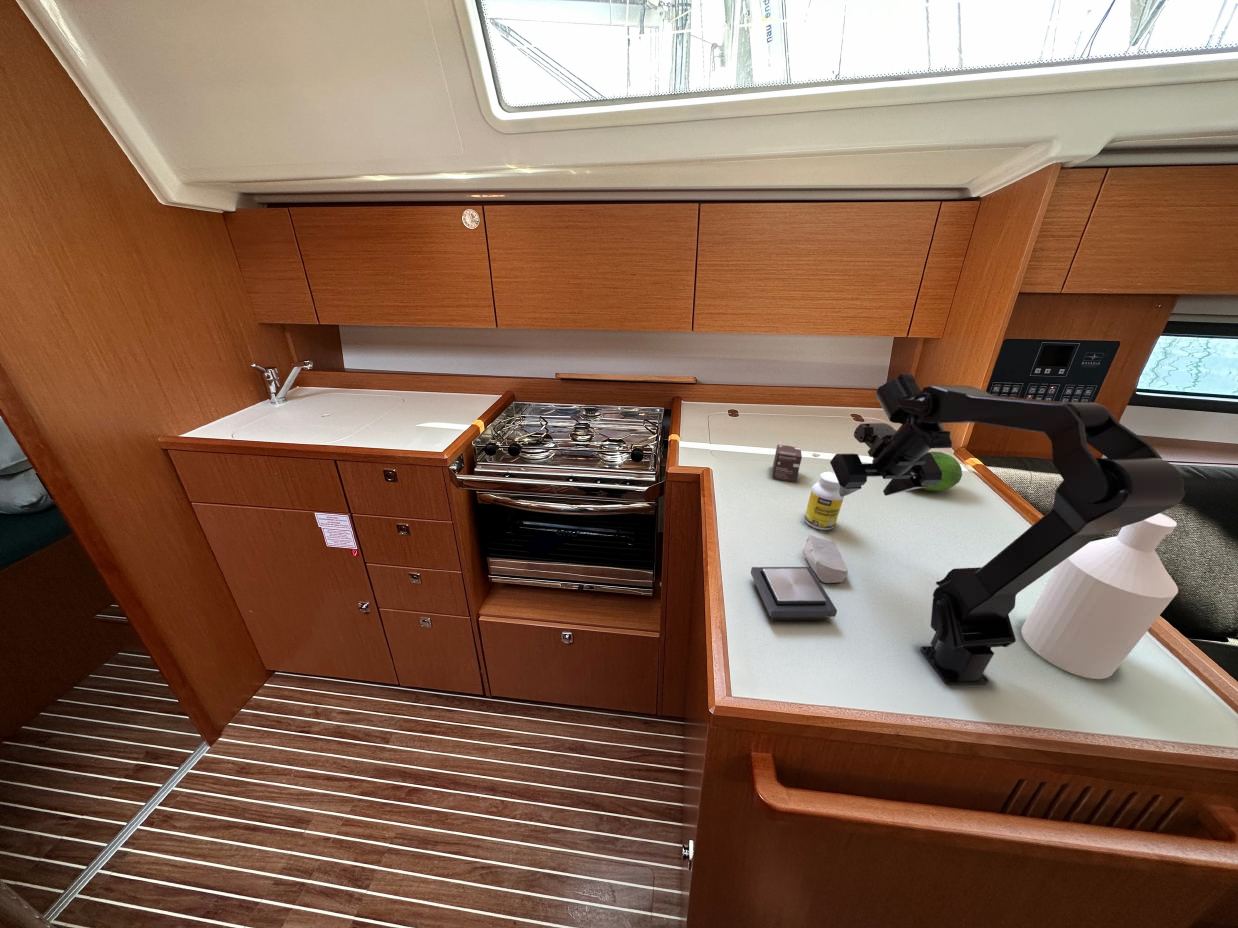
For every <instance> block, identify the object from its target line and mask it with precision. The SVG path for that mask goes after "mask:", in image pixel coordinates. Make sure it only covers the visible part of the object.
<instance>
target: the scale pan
mask: <svg viewBox="0 0 1238 928" xmlns="http://www.w3.org/2000/svg"><path fill="white" fill-rule="evenodd" d="M762 576H763V578H764V580H765V582H766V585H767V587H768V589H769V591H770V593H771V595H772V597H773V599H774V601H775V603H776V606H818V605H825V602H826V600H825V598H824V596H823V595H822V593H821V591H820V590H819V588H818V587H817V585H816V583H815V582H814V580H813V578H812V577H811V575H810V573H809V572H808V570H807V569H763V571H762Z"/></svg>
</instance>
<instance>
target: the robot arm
mask: <svg viewBox="0 0 1238 928" xmlns="http://www.w3.org/2000/svg"><path fill="white" fill-rule="evenodd" d="M875 397H876V399H877V401H878V403H879V404H880V406H881V408H882V409H883V412H884V413H885V415H886V417H887V419H888V421H889V422H891V423H893V424H901V425H900V426H899V427H898V428H897V430H896V429H895V428H893V427H892V426H891V425H890V424H888V423H884V422H868V423H866V422H865V423H864V422H863V423H860V424H859V425H858V426H857V427H856V428H855V430H854V432H853V438H854V439H855V440H856V441H857V442H858V443H860V444H865V446H867V447H868V450H867V454H868V456H869V458H872V461H871V463H863V462H862V460H861V458H860V456H859V453H854V452H853V453H852V452H851V453H835V455H834V456H833V458H831V460H830V461H829V463H830V466H831V468H832V471H833V473H835V475H836V478H837V480H838V482H839V485H840V489H839V494H840V496H841V497H846V496H848V495H850V494H853V493H855V492H858V491H859V490H862V486H865V484H866V483H867V481H868V478H882V479H883V480H890V481H889V482H888V483H887V484H886V486H885V487H884V489H883V490H882V493H883V495H884V496H891V495H895V494H900V493H903V492H908V491H912V490H918V489H921V488H922V487H927V486H932V485H936V484H937V483H938V482H940V481H941V480H942V474H943V473H942V471H941V470H940V468H939V466H938V465H937V463H936V461H935V459H934V458H933V456H932V454H931V453H927V452H930V450H931V449H951V448H952V447H953V440H952V438H951V431H950V430H946V428H945V427H944V424H973V423H974V424H982V425H989V426H995V427H1001V428H1008V429H1014V430H1021V431H1027V432H1033V433H1040V434H1045V435H1046V436H1047V437H1048V439H1049V440H1050V442H1051V443H1050V444H1051V456H1052V464H1053V466H1054V468H1055V469H1056V471H1057V472H1058V474H1059V475H1060V477H1061V478H1062V481H1061V482H1060V483H1059V485H1058V486H1057V488H1056V489H1055V494H1054V499H1053V505H1052V508H1051V509H1050V510H1049V511H1048V512H1047V513H1045V514H1044V515H1043V516H1042V517H1041V518H1040V519H1038V520H1037V521H1036V522H1035V523H1034V524H1032V525H1031V526H1030V527H1029V528H1027V529H1026V530H1025V531H1024V532H1023V533H1022V534H1020V535H1019V536H1018V537H1016V538H1015V539H1014V540H1013V541H1012V542H1010V543H1009V545H1007V546H1006V547H1005V548H1003V549H1002V550H1001V551H1000V552H998V553H997V554H996V555H995V556H994V557H992V559H990V560H989V561H988V562H986V564H984V565H983V566H981V567H980V566H979V567H959V568H952V569H951V570H949V571H948V572H947V574H946V575H945V577H944V578H943V579H941V580H939V581H938V580H937V581H936V582H935V584H936V586H937V587H936V588H934V590H933V593H932V597H933V598H932V604H931V615H930V617H931V618H930V628H931V629H933V631H934V632H935V633H934V635H933V637H932V639H931V641H930V646H929V645H928V646H926V645H924V646H923V645H922V646H921V647H920V649H919V650H920V652H921V653H922V654H923V656H924V657H925V659H926V660H927V661H928V662H929V664H930V665H931V667H932V668H933V669H934V671H935V672H936V673H937V675H939V677H940V678H941V679H942V681H943V682H944V683H945V684H947V685H949V686H951V685H953V686H954V685H987V684H988V683H989V682H990V681H989V679H988V677H987V676H986V675H985V674H984V672H985V670H986V669H987V667H988V665H989V664H990V661H991V660H992V658H993V657H994V655H995V652H994V651H993V650H992V648H1008V647H1011V645H1013V644H1015V643H1016V642H1017V639H1016V636H1015V632H1014V629H1013V625H1012V622H1011V618H1010V616H1009V615H1010V613H1011V612H1012V611H1013V610H1014V609H1015V607H1016V600H1017V599H1016V598H1017V594H1018V593H1020V592H1022V591H1023V590H1025V589H1026V588H1027V587H1029V586H1030V585H1032V584H1033V583H1035V582H1036V581H1037V580H1038V579H1040V578H1041V577H1043V576H1044V575H1046V574H1047V573H1048V572H1050V571H1051V570H1054V569H1055V567H1056V566H1057V565H1058V564H1060V563H1061V562H1062V561H1064V560H1065V559H1067V558H1068V557H1069V556H1071V555H1072V554H1074V553H1075V552H1077V551H1078V550H1079V549H1081V548H1082V547H1084V546H1085V545H1086V544H1088V543H1089V542H1091V541H1095V539H1096V538H1098V537H1100V536H1101V535H1103V534H1105V533H1107V532H1110V531H1114V530H1117V529H1122V527H1124V526H1127V525H1130V524H1134V523H1137V522H1140V521H1143V520H1145V519H1147V518H1150V517H1152V516H1154V515H1156V514H1159V513H1160V514H1162V513H1163V512H1165V511H1168V510H1170V509H1172V508H1174V507H1176V506H1177V505H1178V504H1179V503H1180V502H1181V501H1182V500H1183V498H1184V497H1185V495H1186V491H1185V490H1184V483H1185V482H1184V479H1183V477H1182V474H1181V472H1180V471H1179V470H1178V469H1177V468H1176V467H1175V465H1173V464H1172V463H1170V462H1168V461H1167V460H1165V459H1163V458H1162V456H1161V455H1160V453H1159V452H1158V451H1157V450H1156V449H1155V448H1154V446H1153V445H1151V443H1149V442H1148V441H1146V440H1145V439H1144V438H1142V437H1140V436H1139V435H1138V434H1137V433H1135V432H1134V431H1132V430H1131V429H1129V428H1128V427H1126V426H1124V425H1123V424H1122V423H1120V421H1118V420H1117V418H1116V417H1115V416H1114V414H1113V413H1112V412H1111V411H1110V410H1109V409H1108V408H1107V407H1106V406H1105V405H1102V404H1100V403H1097V402H1094V401H1077V402H1076V401H1072V402H1071V401H1057V400H1047V399H1045V400H1044V399H1034V398H1021V397H1011V396H1000V395H999V396H998V395H994V394H991V393H989V392H987V391H986V390H984V389H981V388H978V387H974V386H971V385H966V384H965V385H957V384H956V385H955V384H954V385H951V384H950V385H948V384H947V385H946V384H945V385H943V384H941V385H939V384H938V385H937V384H936V385H933V384H932V385H926V386H924V387H923V388H922V389H921V387H919V385H918V383H917V381H916V378H915V377H914V375H913V374H912V373H900V374H899V375H898V377H897V378H893V379H891V380H889V381H887V382H885V383H884V384H882V385H879V387H878V388H877V389H876V391H875ZM1088 445H1089V446H1090V447H1092V448H1093V449H1094V450H1096V451H1098V452H1099V453H1100V454H1102V455H1103V456H1104V457H1095V456H1094V454H1093V453H1092V451H1091V450H1090V449H1089V448H1088Z"/></svg>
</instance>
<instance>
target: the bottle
mask: <svg viewBox="0 0 1238 928" xmlns="http://www.w3.org/2000/svg"><path fill="white" fill-rule="evenodd" d="M1177 526H1178V523H1177V522H1176V521H1175V520H1174V519H1172V518H1171V517H1169V516H1167V515H1165V514H1163V513H1159V514H1156V515H1154V516H1152V517H1150V518H1147V519H1145V520H1143V521H1140V522H1137V523H1134V524H1130V525H1127V526H1124V527H1121V528H1120V530H1119V532H1118V534H1117V535H1115V536H1111V537H1106V538H1102V539H1097V540H1092V541H1091V542H1089V543H1088V544H1086V545H1085V546H1084V547H1082V548H1081V549H1079V550H1078V551H1077V552H1075V553H1074V554H1072V555H1071V556H1069V557H1068V558H1067V559H1065V560H1064V561H1062V562H1061V563H1060V564H1058V565H1057V566H1055V567H1054V568H1053V570H1052V573H1051V574H1050V575H1049V578H1048V580H1047V581H1046V583H1045V585H1044V586H1043V589H1042V590H1041V593H1040V595H1039V596H1038V598H1037V599H1036V602H1035V603H1034V605H1033V607H1032V609H1031V610H1030V612H1029V614H1028V615H1027V618H1026V619H1025V622H1024V623H1023V625H1022V627H1021V635H1022V639H1023V640H1024V641H1025V643H1026V644H1027V645H1028V646H1029V648H1031V650H1033V651H1034V653H1035V654H1037V655H1039V656H1040V657H1041V658H1043V659H1044V660H1045V661H1047V662H1049V663H1050V664H1052V665H1053V666H1056V667H1057V668H1059V669H1061V670H1063V671H1065V672H1068V673H1070V674H1073V675H1076V676H1079V677H1083V678H1087V679H1093V680H1103V679H1108V678H1110V677H1111V676H1112V675H1113V674H1114V673H1115V672H1116V671H1117V670H1118V668H1119V667H1120V666H1121V664H1123V662H1124V661H1125V659H1126V658H1127V657H1128V655H1129V654H1130V653H1131V652H1132V650H1133V649H1134V648H1135V647H1136V645H1137V644H1138V643H1139V642H1140V641H1141V639H1143V637H1144V636H1145V635H1146V633H1147V632H1148V631H1149V630H1150V628H1151V627H1152V626H1153V624H1155V622H1156V621H1157V619H1158V618H1159V617H1160V616H1161V614H1162V613H1163V612H1164V611H1165V609H1166V608H1167V607H1168V606H1169V604H1170V603H1171V602H1172V601H1173V599H1174V598H1175V597H1176V596H1177V595H1178V593H1179V588H1178V585H1177V584H1176V582H1175V580H1174V579H1173V578H1172V576H1171V575H1170V574H1169V573H1168V571H1167V570H1166V568H1165V566H1164V564H1163V562H1162V561H1161V559H1160V557H1159V555H1158V553H1157V551H1156V550H1157V548H1158V546H1159V545H1160V544H1161V542H1162V541H1163V540H1164V538H1165V537H1167V535H1171V534H1172V533H1173V531H1174V530H1175V528H1176V527H1177Z"/></svg>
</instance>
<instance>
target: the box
mask: <svg viewBox="0 0 1238 928" xmlns="http://www.w3.org/2000/svg"><path fill="white" fill-rule="evenodd" d="M774 454H775V455H774V458H773V463H772V468H771V469H772V470H771V475H772V476H771V477H772V479H775V480H781V481H788V482H793V483H796V482H797V479H798V475H799V471H800V467H801V464H802V463H801V462H802V458H803V456H802V448H801V447H796V446H791V445H786V444H785V445H784V444H776V449H775V453H774Z"/></svg>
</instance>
